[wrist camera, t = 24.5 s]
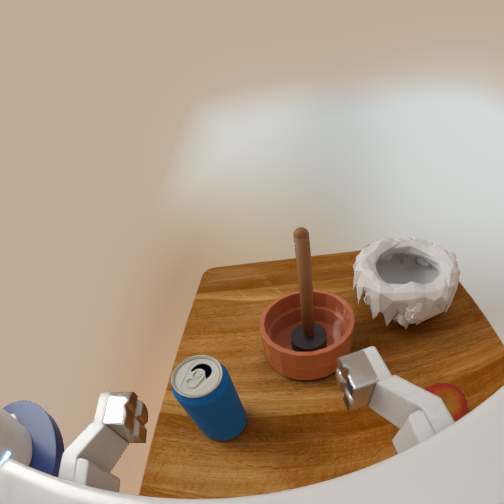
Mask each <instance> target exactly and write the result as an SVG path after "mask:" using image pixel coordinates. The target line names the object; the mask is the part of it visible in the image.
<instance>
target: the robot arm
mask: <svg viewBox="0 0 504 504" xmlns="http://www.w3.org/2000/svg"><path fill="white" fill-rule="evenodd" d="M336 363H337V366H338V368H337V369H336V374H335V375H336V381H337V384H338V387H339V390H340V391H342V392H343V393H344V398H343V400H344V402H345V405H346V407H347V409H348V412H350V411H353V410H357V409H360V408H363V407H365V406H368V405H369V406H368V407H369V408H371V409H372V410H374V411H375V412H377V413H378V414H379V415H381V416H382V417H384V418H385V419H387V420H388V421H389V422H391V423H392V424H394V425H395V426H397V427H398V428H400V430H399V431H398V433H397V434H396V435H395V437H394V438H393V440H392V442H393V445H394V447H395V449H396V452H397V455H395V456H392V457H390V458H388V459H386V460H383V461H381V462H378V463H376V464H374V465H371V466H369V467H366V468H363V469H361V470H358V471H355V472H352V473H349V474H346V475H343V476H340V477H337V478H334V479H330V480H327V481H323V482H320V483H316V484H312V485H308V486H304V487H299V488H295V489H290V490H285V491H279V492H274V493H267V494H261V495H253V496H244V497H233V498H217V499H174V498H158V497H148V496H139V495H132V494H125V493H119V487H120V479H119V478H118V477H116V476H114V475H113V474H111V473H110V472H111V470H112V469H113V467H114V466H115V464H116V463H117V461H118V460H119V458H120V457H121V455H122V453H123V452H124V451H125V449H126V448H127V446H128V445H129V443H146V433H147V430H146V428H145V426H144V425H145V424H146V423H147V421H148V411H147V408H146V406H145V404H144V403H143V402H142V401H140V400H138V399H137V397H138V396H137V395H136V394H135V393H134V392H102V393H101V395H100V397H99V401H98V405H97V409H96V413H95V418H94V422H93V423H90V424H89V425H88V426H87V428H86V429H85V430H84V431H83V432H82V433H81V434H80V435H79V436H78V437H77V438H76V440H75V441H74V442H73V443H72V444H71V445H70V446H69V447H68V448H67V449H66V450H65V451H64V453H63V455H62V459H61V464H60V470H59V475H58V477H55V476H52V475H50V474H47V473H44V472H41V471H39V470H36V469H34V468H31V467H29V465H30V462H31V458H32V450H33V447H32V439H31V436H30V433H29V431H28V430H27V429H26V427H24V426H23V425H22V424H21V423H20V421H19V418H18V417H17V416H16V415H15V414H9V413H8V412H6V411H5V410H4V409H3V408H1V407H0V504H504V385H503V386H502V387H501V388H500V389H499V390H498V391H496V392H495V393H494V394H493V395H492V396H490V397H489V398H488V399H487V400H485V401H484V402H483V403H481V404H480V405H479V406H477V407H476V408H475V409H473V410H472V411H471V412H469V413H468V414H466V415H465V416H463V417H462V418H461V419H459V420H458V421H456V422H455V421H454V420H453V418H452V416H451V414H450V413H449V411H448V409H447V407H446V406H445V404H444V402H443V401H442V399H441V397H439V396H437V395H434V394H432V393H430V392H428V391H426V390H424V389H422V388H420V387H418V386H416V385H414V384H412V383H410V382H408V381H406V380H405V379H403V378H401V377H399V376H397V375H394V376H392V375H391V373H390V371H389V370H388V368H387V366H386V364H385V363H384V361H383V359H382V358H381V356H380V354H379V352H378V351H377V349H376V348H375V347H374V346H371V347H368V348H365V349H362V350H358V351H355V352H353V353H350V354H347V355H344V356H340V357H338V358H337V362H336Z"/></svg>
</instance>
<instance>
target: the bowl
mask: <svg viewBox="0 0 504 504" xmlns="http://www.w3.org/2000/svg"><path fill="white" fill-rule="evenodd" d="M353 268H354V283H353V290H354V289H355V288H357V297H358V303H359V301H360V299H361V297H362V295H364V296H365V297H364V301H365V304H366V305H370V313H371V311H372V319H374V318H376V316H377V315H378V313H379V312H381V313H382V314H384V318H385V322H386V327H387V326H388V324H389V323H390V322H391V320H392V319H394V322H396V321H397V322H398V323H399V324H400V325H401V326H405V329H407V327H408V325H409V324H414V323H416V325H417V324H419V323H420V322H423V321H425V320H427V319H429V318H431V317H433V316H436V315H438V314H440V313H442V312H445V313H446V312H447V310H448V308H449V307H450V305H451V303H452V301H453V298H454V295H455V293H456V290H457V287H458V282H459V276H460V271H459V269H458V265H457V261H456V256H455V253H453V252H448V251H446V250H445V249H443V248H442V247H440V246H437V245H433V244H432V243H430V242H429V241H427V240H424V239H421V238H415V239H413V238H407V239H398V240H395V239H392V238H388V237H384V238H382V239H380V240H377V241H374V242H372V243H371V244H369V245H367V246H366V247H364V249H363V250H362V251H361V253H360V254H359V255H358V256H356V262H355V264H354V265H353Z"/></svg>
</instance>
